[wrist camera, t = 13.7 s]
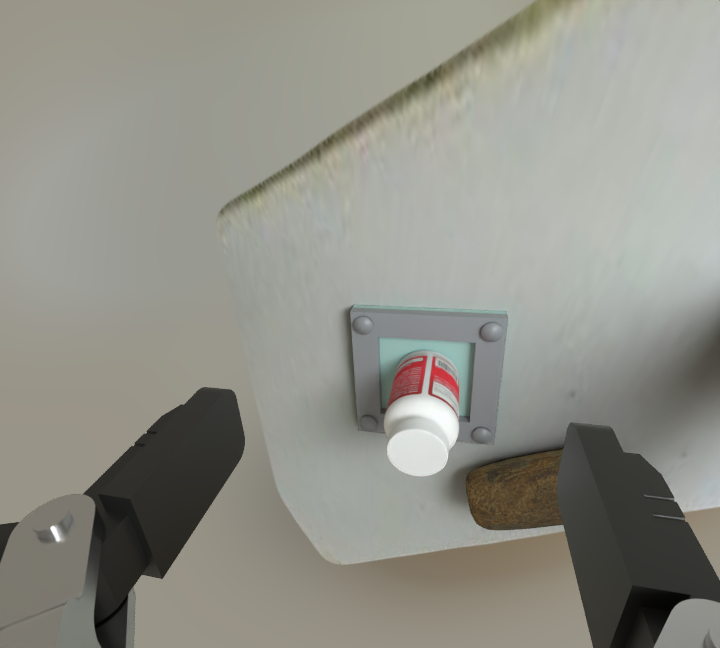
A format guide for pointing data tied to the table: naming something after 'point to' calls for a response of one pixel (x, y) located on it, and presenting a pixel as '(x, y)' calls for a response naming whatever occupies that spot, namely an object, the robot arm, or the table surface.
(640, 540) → the robot arm
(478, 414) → the base plate
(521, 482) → the brown textured cylinder
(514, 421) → the table surface
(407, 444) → the pill bottle
